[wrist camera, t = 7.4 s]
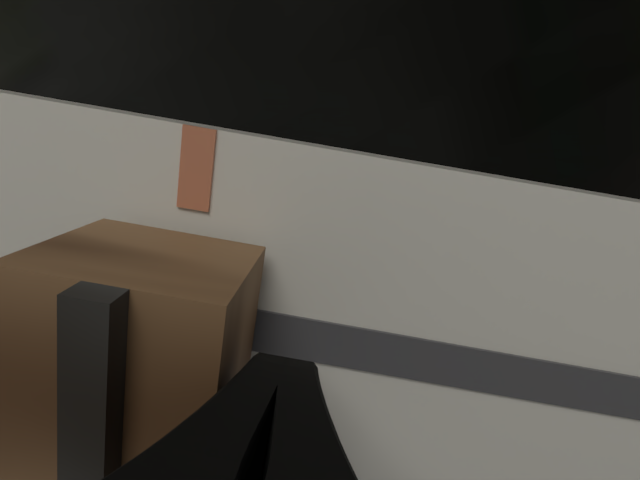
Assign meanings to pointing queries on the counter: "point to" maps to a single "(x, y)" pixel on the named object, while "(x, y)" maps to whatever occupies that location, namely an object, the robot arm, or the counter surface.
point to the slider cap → (116, 342)
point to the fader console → (380, 282)
